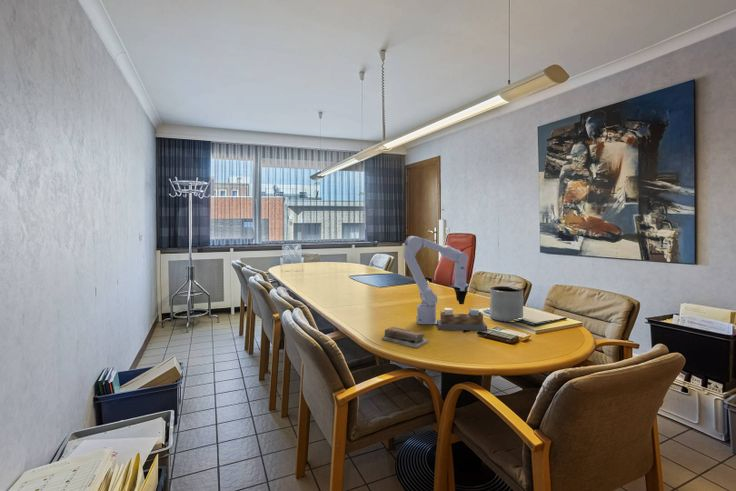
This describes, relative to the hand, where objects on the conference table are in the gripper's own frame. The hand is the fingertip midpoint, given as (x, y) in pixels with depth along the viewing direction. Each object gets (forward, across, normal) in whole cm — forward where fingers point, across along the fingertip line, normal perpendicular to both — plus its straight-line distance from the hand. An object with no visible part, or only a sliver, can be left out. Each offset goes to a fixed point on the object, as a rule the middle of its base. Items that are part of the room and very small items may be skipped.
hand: (460, 302), depth 185 cm
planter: (+10, +6, -24) cm, 27 cm away
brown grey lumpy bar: (+7, -10, +1) cm, 13 cm away
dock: (+9, -10, +1) cm, 14 cm away
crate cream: (+4, -10, +7) cm, 13 cm away
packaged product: (+10, -33, +27) cm, 44 cm away
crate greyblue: (+4, -10, -5) cm, 12 cm away
